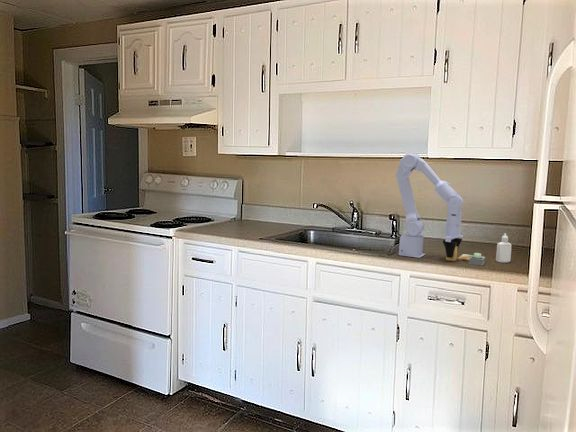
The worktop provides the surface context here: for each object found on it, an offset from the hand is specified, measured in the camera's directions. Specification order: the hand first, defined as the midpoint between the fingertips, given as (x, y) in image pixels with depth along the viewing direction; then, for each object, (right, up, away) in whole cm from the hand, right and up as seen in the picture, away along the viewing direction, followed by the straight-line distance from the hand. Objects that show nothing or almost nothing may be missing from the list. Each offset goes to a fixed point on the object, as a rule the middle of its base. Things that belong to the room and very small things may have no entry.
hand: (451, 256), depth 201 cm
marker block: (0, -1, 0) cm, 2 cm away
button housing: (+8, -2, -6) cm, 11 cm away
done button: (+8, -1, -7) cm, 11 cm away
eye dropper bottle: (+21, -2, -2) cm, 21 cm away
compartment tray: (+9, -1, +2) cm, 9 cm away
